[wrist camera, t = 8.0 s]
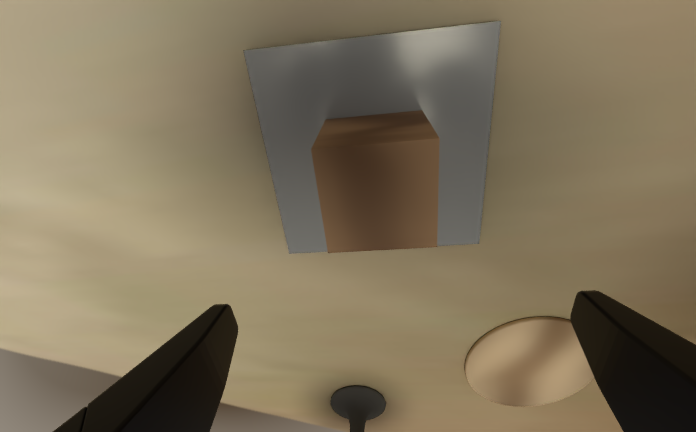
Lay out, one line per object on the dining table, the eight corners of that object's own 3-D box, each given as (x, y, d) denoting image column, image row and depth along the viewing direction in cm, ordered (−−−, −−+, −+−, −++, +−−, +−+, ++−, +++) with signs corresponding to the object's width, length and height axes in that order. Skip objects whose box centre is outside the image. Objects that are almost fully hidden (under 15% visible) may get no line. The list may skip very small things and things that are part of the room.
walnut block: (422, 110, 17) (439, 138, 13) (422, 198, 20) (437, 246, 15) (325, 119, 18) (311, 149, 14) (337, 204, 20) (327, 252, 16)
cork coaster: (615, 314, 24) (619, 318, 24) (583, 401, 29) (585, 406, 28) (469, 318, 25) (470, 323, 25) (461, 402, 30) (462, 406, 29)
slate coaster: (496, 20, 16) (500, 20, 15) (476, 238, 22) (479, 243, 21) (247, 49, 17) (243, 50, 16) (291, 248, 23) (289, 253, 22)
